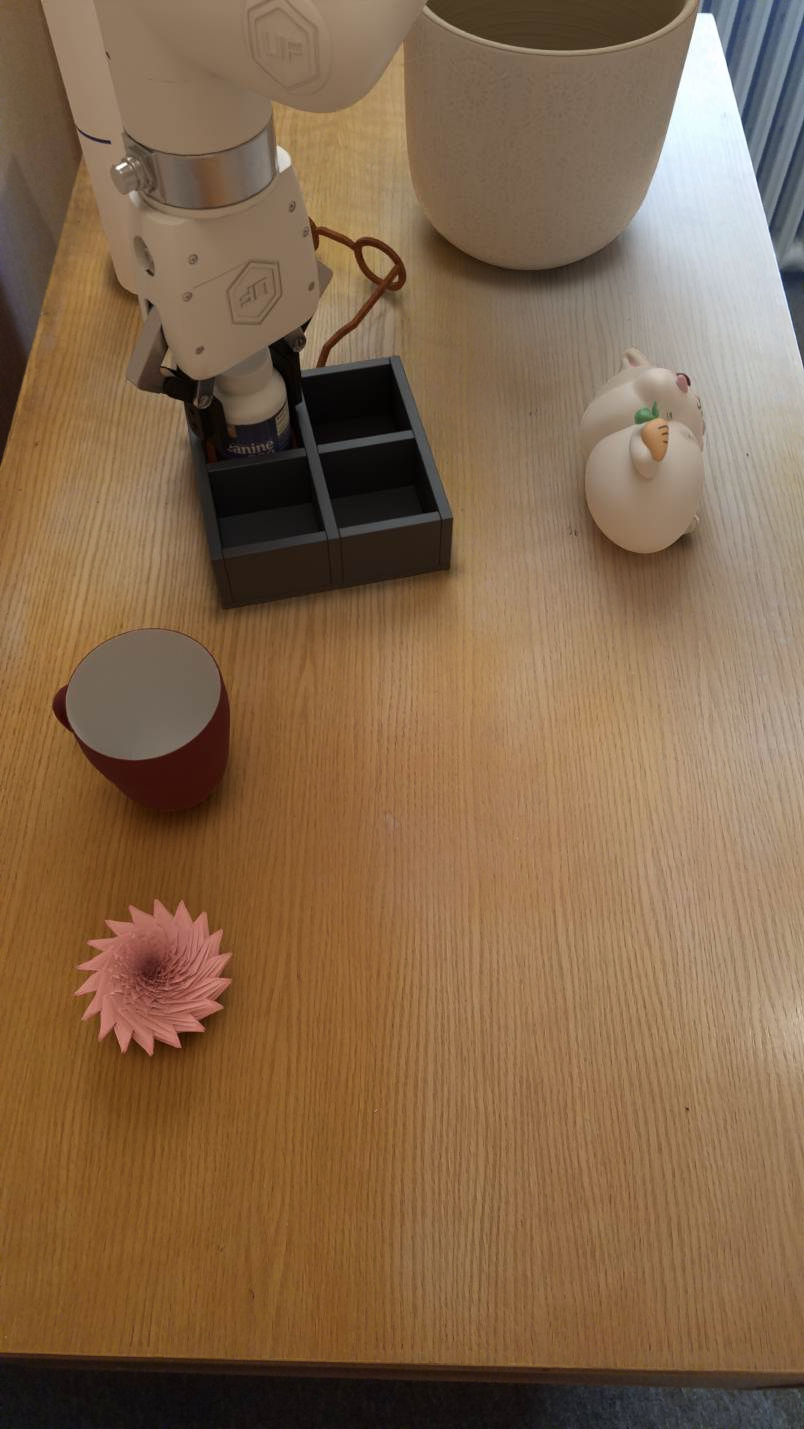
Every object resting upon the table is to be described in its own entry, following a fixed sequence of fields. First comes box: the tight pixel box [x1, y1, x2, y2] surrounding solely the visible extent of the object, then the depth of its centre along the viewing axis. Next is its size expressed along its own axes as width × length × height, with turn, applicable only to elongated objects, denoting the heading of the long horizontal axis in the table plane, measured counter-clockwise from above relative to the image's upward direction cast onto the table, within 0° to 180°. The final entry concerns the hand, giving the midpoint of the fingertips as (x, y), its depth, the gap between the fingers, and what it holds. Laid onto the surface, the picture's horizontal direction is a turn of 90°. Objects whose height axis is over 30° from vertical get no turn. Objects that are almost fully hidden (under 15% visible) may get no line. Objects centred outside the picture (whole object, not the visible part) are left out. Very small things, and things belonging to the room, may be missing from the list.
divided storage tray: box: [182, 354, 454, 610], centre depth 69 cm, size 15×15×5 cm
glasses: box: [308, 215, 407, 368], centre depth 79 cm, size 13×13×5 cm
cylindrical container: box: [40, 0, 137, 295], centre depth 73 cm, size 7×7×25 cm
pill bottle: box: [213, 346, 293, 462], centre depth 68 cm, size 5×5×10 cm
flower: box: [73, 898, 234, 1057], centre depth 52 cm, size 8×8×6 cm
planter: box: [402, 0, 701, 271], centre depth 79 cm, size 21×21×19 cm
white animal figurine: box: [579, 347, 706, 554], centre depth 68 cm, size 10×8×15 cm
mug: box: [51, 627, 231, 812], centre depth 56 cm, size 10×8×10 cm
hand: (248, 414), depth 68 cm, fingers closed on pill bottle, 5 cm apart
